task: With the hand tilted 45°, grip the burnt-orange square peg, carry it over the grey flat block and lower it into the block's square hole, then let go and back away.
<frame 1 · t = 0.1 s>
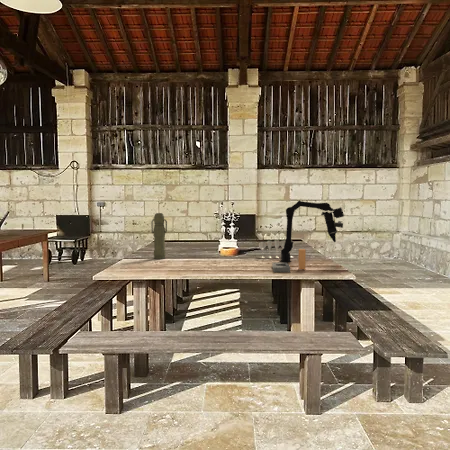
hand: (334, 241, 283), 15 cm above the table, tool pointing down, fingers open, 9 cm apart
grey flat block: (280, 269, 260), on the table
goblet set: (276, 257, 315), on the table
thermos: (159, 258, 310), on the table
peg: (301, 269, 261), on the table
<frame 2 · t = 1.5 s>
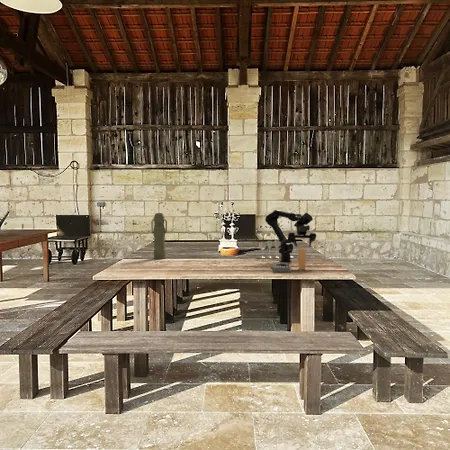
hand: (303, 246, 268), 14 cm above the table, tool tilted 40°, fingers open, 9 cm apart
nothing on the table moved.
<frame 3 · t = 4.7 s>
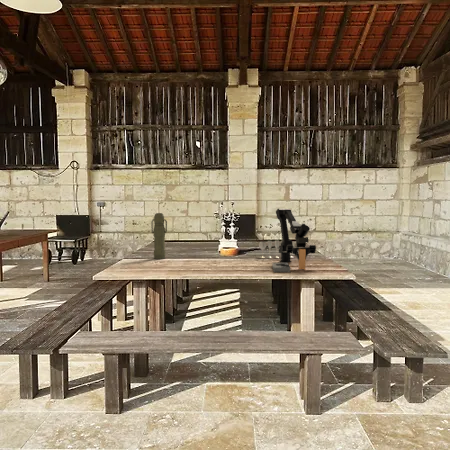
hand: (302, 259, 259), 7 cm above the table, tool tilted 45°, fingers closed on peg, 4 cm apart
peg: (301, 269, 261), on the table, touching gripper
everything else where it was.
when the fingers open (7 cm above the table, at t = 8.8 s): peg stays where it is, resting in grey flat block.
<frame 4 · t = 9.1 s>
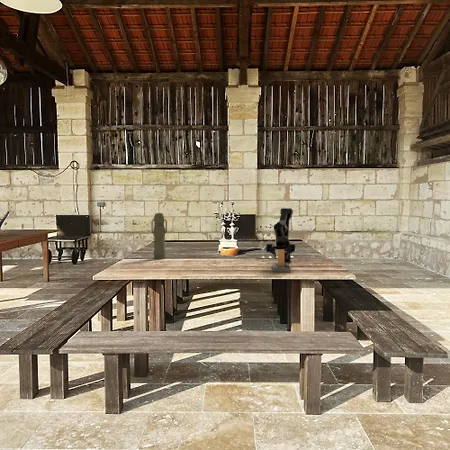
hand: (281, 258, 258), 8 cm above the table, tool tilted 45°, fingers open, 7 cm apart
peg: (281, 269, 260), resting in grey flat block
everything else where it was.
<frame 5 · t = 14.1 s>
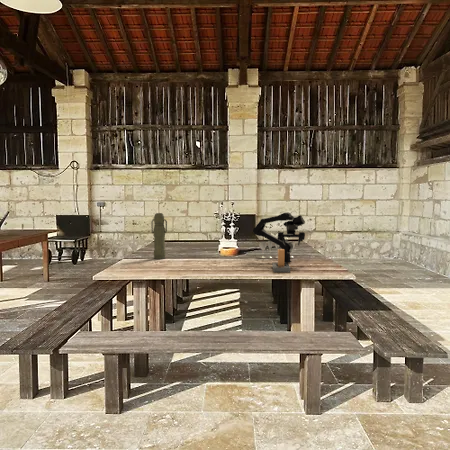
hand: (291, 245, 277), 14 cm above the table, tool tilted 45°, fingers open, 9 cm apart
nothing on the table moved.
at the end: peg 0.0 cm off-centre on the grey flat block, point 0.0 cm above the grey flat block's base; peg tilted 0°; the gripper is holding nothing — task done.
